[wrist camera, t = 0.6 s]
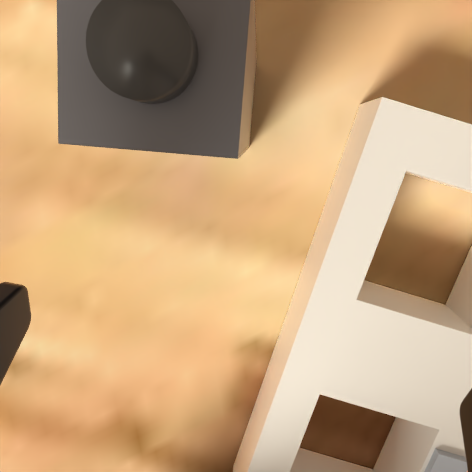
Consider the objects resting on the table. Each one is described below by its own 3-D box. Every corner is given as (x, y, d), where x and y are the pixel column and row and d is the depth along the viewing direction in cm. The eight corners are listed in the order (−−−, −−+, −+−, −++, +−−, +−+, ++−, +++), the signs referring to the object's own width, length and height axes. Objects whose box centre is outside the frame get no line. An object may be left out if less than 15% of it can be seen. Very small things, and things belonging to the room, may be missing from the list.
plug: (249, 147, 22) (235, 161, 9) (171, 140, 22) (36, 144, 9) (256, 64, 21) (254, -69, 8) (175, 58, 21) (30, -84, 8)
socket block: (389, 511, 27) (414, 583, 22) (233, 465, 26) (228, 529, 22) (550, 163, 22) (623, 169, 17) (359, 104, 21) (385, 95, 17)
